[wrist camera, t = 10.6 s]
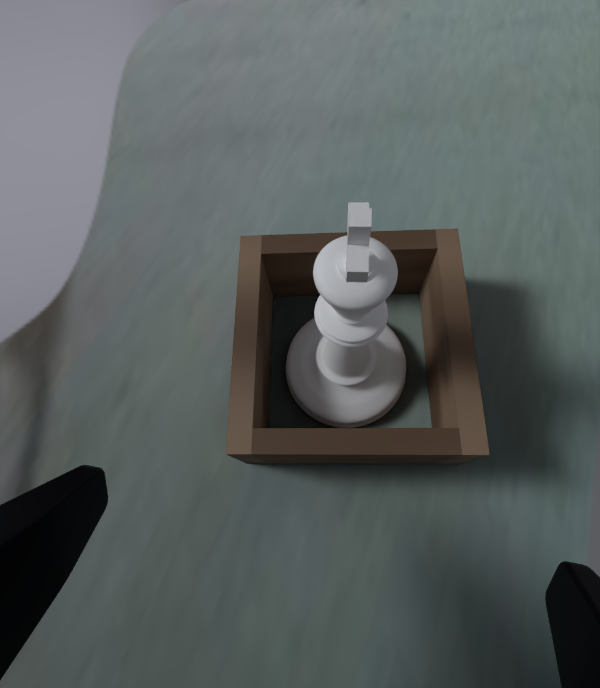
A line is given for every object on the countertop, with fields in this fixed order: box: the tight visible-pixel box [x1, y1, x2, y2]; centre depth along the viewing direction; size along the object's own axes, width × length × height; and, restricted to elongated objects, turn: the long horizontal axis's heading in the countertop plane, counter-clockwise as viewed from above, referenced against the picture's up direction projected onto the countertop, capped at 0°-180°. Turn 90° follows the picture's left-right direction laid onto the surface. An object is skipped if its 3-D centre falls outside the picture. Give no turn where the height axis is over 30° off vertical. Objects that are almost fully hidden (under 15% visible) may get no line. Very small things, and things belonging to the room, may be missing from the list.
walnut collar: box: [226, 229, 490, 464], centre depth 16 cm, size 8×8×4 cm
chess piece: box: [286, 203, 406, 428], centre depth 13 cm, size 5×5×10 cm
